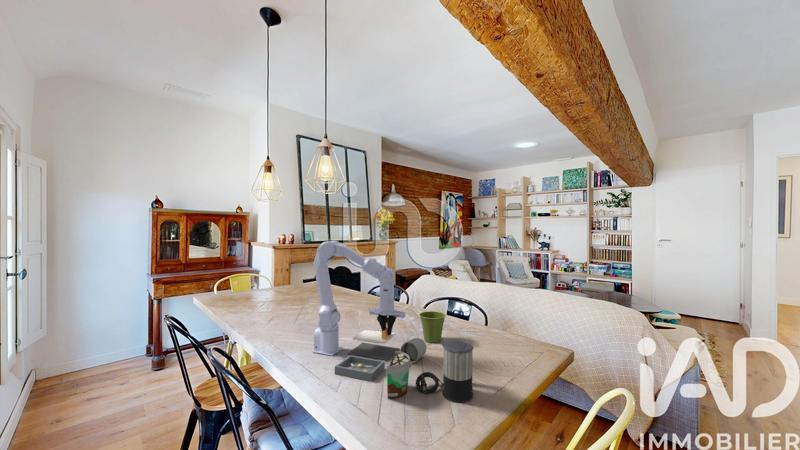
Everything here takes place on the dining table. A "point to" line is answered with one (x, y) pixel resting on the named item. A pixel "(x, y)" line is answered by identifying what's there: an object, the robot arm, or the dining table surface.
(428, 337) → the plant pot
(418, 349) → the ceramic mug
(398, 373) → the food container
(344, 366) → the dark grey tray
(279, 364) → the dining table surface
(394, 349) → the mat
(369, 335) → the lid
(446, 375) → the milk frother
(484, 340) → the dining table surface
